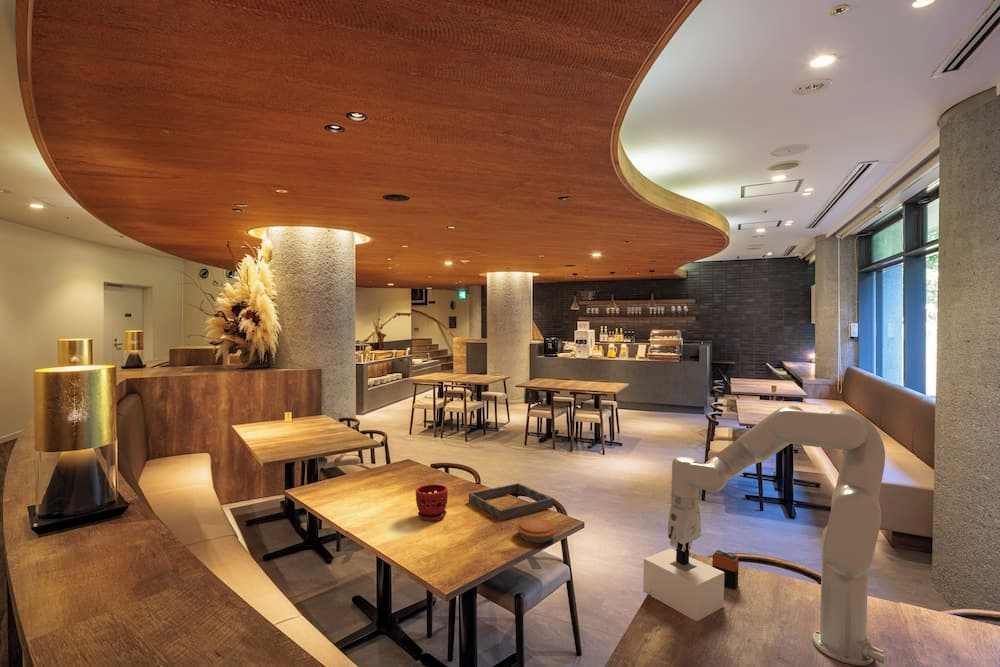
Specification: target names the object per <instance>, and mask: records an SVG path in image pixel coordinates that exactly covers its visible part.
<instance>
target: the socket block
mask: <svg viewBox="0 0 1000 667" xmlns="http://www.w3.org/2000/svg"><path fill="white" fill-rule="evenodd" d="M689 562H690V570H689V571H687V572H685V571H683V570H681V569H679V568H677V567H676V550H675V549H673V548H668V549H666V550H664V551H660V552H658V553H655V554H652V555H649V556H647V557H644V558H643V577H642V578H643V579H642V580H643V581H642V582H643V583H642V584H643V586H642V587H643V588H642V591H643V593H645V594H646V595H648V594H649V593H650V591H651V590H652V591H651V593H650V594H649V595H648V596H650V595H651V596H650V597H652V598H654V599H656V600H657V601H659V602H661V603H663V604H665V605H666V606H668V607H670V608H671V609H674V610H676V611H677V612H678V613H681V615H682V614H683V615H684V616H686V617H687V618H689V619H691V620H693V621H695V622H698V621H700V620H702V619H704V618H705V617H707V616H710V615H712V614H713V613H716V612H717V611H719V610H720V609H722V608H724V605H725V602H724V601H725V600H724V599H725V587H724V572H723V571H721V570H718V569H716V568H714V567H712V565H709V564H707V563H705V562H702V561H701V560H698V559H695V558H693V557H691V556H689Z"/></svg>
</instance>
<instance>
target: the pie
mask: <svg viewBox="0 0 1000 667" xmlns="http://www.w3.org/2000/svg"><path fill="white" fill-rule="evenodd" d="M515 529H516V530H517V532H518V533H519V534H520V536H521V538H522V539H523V540H524V541H526V542H528V543H533V544H543V543H547V542H549V541H551V539H552V538H553V536H554V535H555V533H557V531H558V527H557V525H556V524H554V523H553V522H551V521H549V520H546V519H543V518H527V519H524V520H521V521H520V522H518V523H517V524H516V526H515Z"/></svg>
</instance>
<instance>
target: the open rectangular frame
mask: <svg viewBox="0 0 1000 667" xmlns="http://www.w3.org/2000/svg"><path fill="white" fill-rule="evenodd" d="M516 493H517V494H518V493H519V494H521V495H523V496H525V497H527V498H529V499H531V500H534V501H533V502H529V503H523V504H521V505H520V504H519V505H515V506H512V507H507V508H503V509H501V508H499V507H497V506H495V505H493V504H492V503H490V502H488V501H486V500H489V499H495V498H499V497H505V496H508V495H512V494H516ZM468 503H469V504H471V505H473V506H474V507H476V508H478V509H480V510H482V511H483V512H484V513H487V514H488V515H490V516H492V517H493V518H495V519H497V520H499V521H500V522H501V521H505V520H509V519H513V518H517V517H521V516H526V515H529V514H533V513H537V512H541V511H545V510H549V509H552V508H554V507H553V504H554V498H552V497H550V496H549V495H546V494H544V493H541V492H540V491H537V490H535V489H532V488H531V487H528V486H527V485H526V486H525V485H524V484H521V483H519V482H518V483H513V484H508V485H505V486H499V487H494V488H493V487H492V488H488V489H484V490H479V491H475V492H469V493H468Z"/></svg>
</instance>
